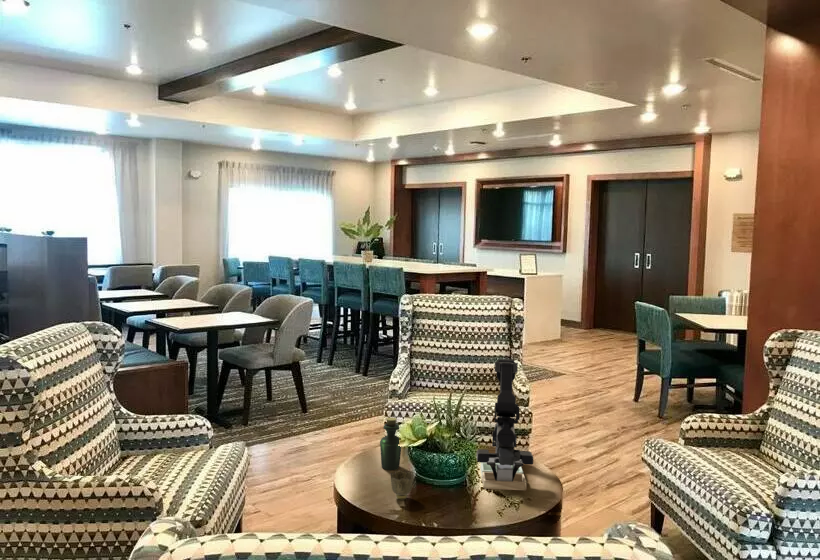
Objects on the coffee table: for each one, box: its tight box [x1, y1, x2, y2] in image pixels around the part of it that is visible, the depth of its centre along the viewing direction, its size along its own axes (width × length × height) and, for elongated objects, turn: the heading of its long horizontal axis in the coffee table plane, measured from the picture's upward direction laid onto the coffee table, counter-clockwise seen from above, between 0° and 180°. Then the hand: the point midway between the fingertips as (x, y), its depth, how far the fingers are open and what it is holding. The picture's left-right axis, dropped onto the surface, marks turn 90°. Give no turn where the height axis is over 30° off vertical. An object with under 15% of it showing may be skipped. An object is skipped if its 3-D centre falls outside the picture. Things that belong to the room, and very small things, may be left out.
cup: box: [389, 470, 414, 501], centre depth 204 cm, size 8×7×8 cm
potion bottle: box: [379, 416, 402, 471], centre depth 232 cm, size 8×8×18 cm
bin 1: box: [480, 462, 524, 476], centre depth 225 cm, size 8×14×4 cm, turn 87°
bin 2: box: [481, 472, 528, 491], centre depth 216 cm, size 8×14×4 cm, turn 87°
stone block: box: [496, 464, 513, 482], centre depth 216 cm, size 5×5×6 cm
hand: (503, 481), depth 216 cm, fingers closed on stone block, 5 cm apart
